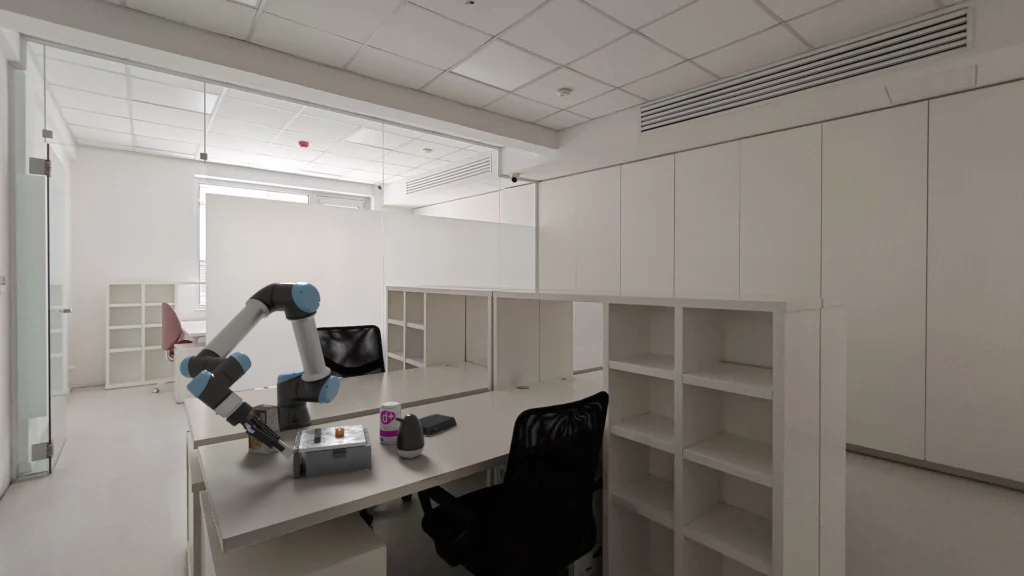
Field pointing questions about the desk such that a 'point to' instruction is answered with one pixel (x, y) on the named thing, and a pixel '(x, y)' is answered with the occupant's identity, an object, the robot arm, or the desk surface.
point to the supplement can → (389, 421)
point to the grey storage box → (339, 459)
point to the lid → (325, 441)
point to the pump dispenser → (409, 436)
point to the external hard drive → (436, 423)
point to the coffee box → (272, 419)
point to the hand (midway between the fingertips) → (291, 455)
